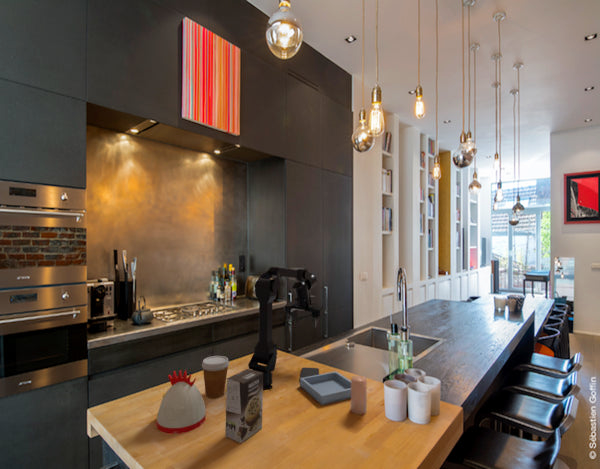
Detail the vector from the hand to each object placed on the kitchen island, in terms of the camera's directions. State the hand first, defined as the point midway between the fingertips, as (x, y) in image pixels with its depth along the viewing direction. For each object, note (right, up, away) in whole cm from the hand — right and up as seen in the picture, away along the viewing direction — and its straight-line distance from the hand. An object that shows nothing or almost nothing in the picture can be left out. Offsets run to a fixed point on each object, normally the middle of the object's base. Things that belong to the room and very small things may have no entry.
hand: (306, 325), depth 156 cm
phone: (+1, -16, -19) cm, 25 cm away
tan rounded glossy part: (+16, -15, -46) cm, 51 cm away
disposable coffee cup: (-33, -14, -37) cm, 51 cm away
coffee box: (-19, -14, -60) cm, 64 cm away
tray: (+8, -15, -33) cm, 37 cm away
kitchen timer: (-38, -14, -54) cm, 68 cm away
